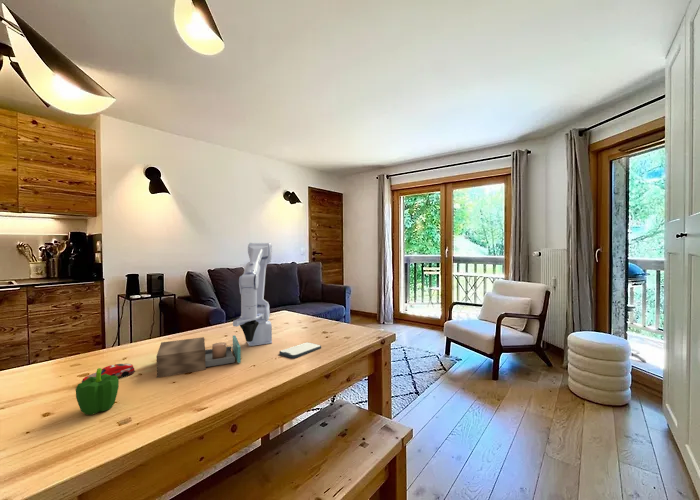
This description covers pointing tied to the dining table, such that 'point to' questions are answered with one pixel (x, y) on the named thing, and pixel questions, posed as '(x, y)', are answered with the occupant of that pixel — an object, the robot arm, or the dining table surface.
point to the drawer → (229, 358)
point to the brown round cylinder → (219, 350)
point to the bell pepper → (97, 393)
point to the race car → (115, 371)
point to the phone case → (299, 350)
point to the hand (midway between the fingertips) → (249, 341)
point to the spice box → (181, 357)
